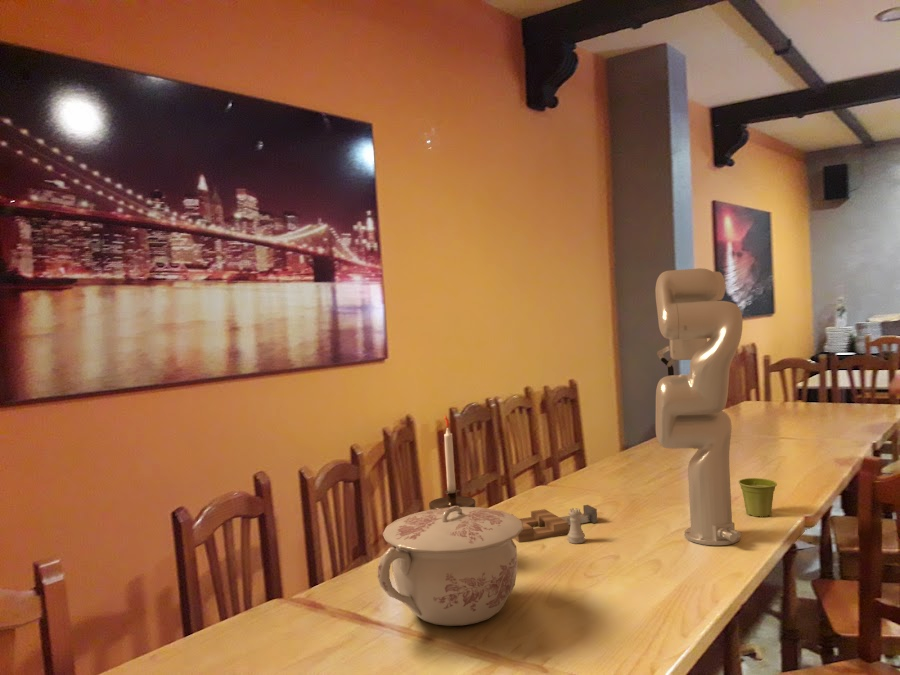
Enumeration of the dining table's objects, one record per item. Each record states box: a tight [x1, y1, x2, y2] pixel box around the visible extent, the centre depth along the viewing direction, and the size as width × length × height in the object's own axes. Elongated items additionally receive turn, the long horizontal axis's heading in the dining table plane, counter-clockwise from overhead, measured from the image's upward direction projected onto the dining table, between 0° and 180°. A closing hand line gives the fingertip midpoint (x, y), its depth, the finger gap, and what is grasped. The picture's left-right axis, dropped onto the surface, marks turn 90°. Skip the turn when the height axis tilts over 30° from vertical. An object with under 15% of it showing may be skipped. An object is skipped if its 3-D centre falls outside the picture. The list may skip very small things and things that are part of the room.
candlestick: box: [428, 414, 477, 510], centre depth 161 cm, size 11×11×35 cm
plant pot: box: [738, 477, 778, 518], centre depth 185 cm, size 9×9×9 cm
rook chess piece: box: [567, 507, 586, 545], centre depth 172 cm, size 4×4×8 cm
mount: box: [511, 508, 570, 543], centre depth 182 cm, size 14×14×3 cm
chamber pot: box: [377, 506, 523, 627], centre depth 135 cm, size 28×28×21 cm
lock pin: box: [559, 504, 598, 526], centre depth 186 cm, size 5×11×4 cm, turn 108°
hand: (689, 379), depth 197 cm, fingers open, 9 cm apart
